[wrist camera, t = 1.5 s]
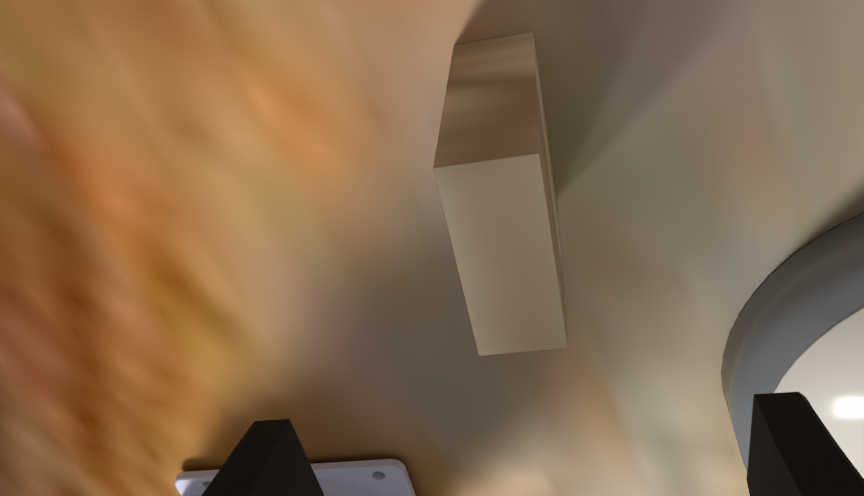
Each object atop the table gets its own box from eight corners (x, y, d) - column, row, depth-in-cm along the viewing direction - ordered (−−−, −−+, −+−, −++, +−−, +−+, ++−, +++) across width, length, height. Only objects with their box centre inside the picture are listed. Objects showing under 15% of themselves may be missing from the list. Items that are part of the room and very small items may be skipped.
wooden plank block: (487, 208, 22) (479, 356, 17) (453, 44, 19) (433, 168, 15) (556, 199, 22) (568, 348, 17) (533, 31, 19) (539, 153, 14)
